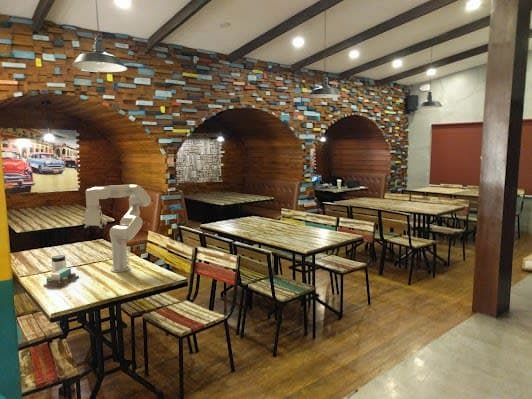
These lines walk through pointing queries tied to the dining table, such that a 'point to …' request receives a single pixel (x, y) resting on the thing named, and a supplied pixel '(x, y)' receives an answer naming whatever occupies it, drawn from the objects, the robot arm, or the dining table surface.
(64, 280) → the cradle
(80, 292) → the dining table surface
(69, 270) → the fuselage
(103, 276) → the dining table surface
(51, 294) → the dining table surface
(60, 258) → the jar
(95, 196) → the robot arm
